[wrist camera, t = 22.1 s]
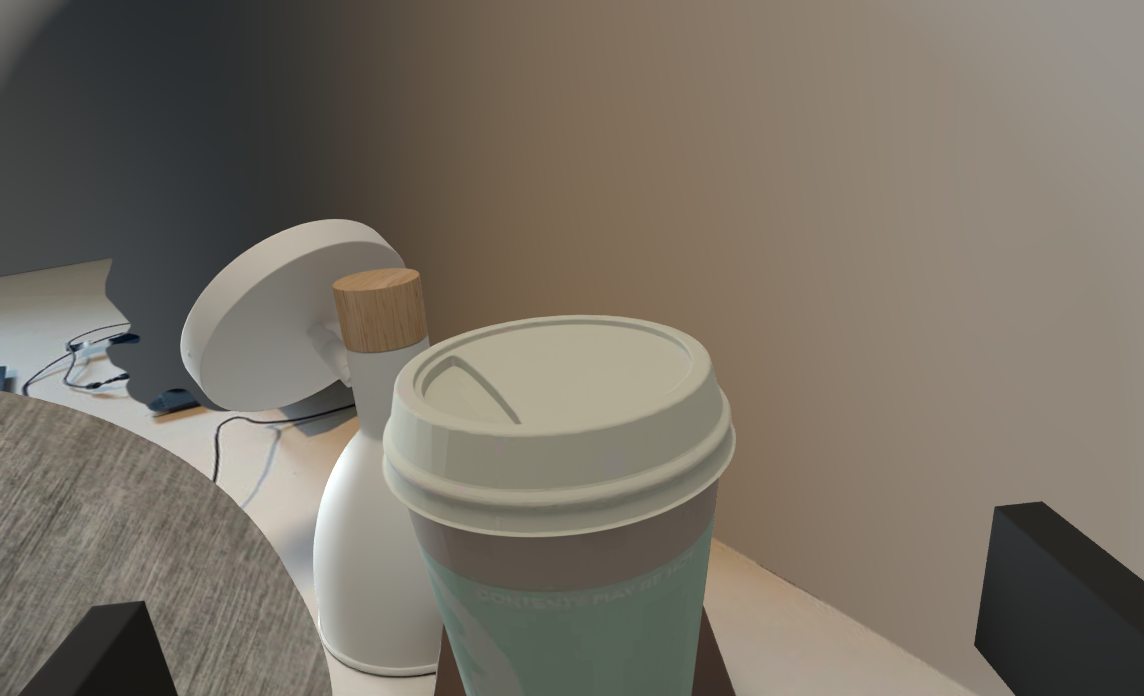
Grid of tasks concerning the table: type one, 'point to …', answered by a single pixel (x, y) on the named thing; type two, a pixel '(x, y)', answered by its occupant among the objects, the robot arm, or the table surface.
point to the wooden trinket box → (708, 683)
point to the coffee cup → (564, 500)
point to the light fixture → (370, 365)
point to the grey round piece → (140, 559)
